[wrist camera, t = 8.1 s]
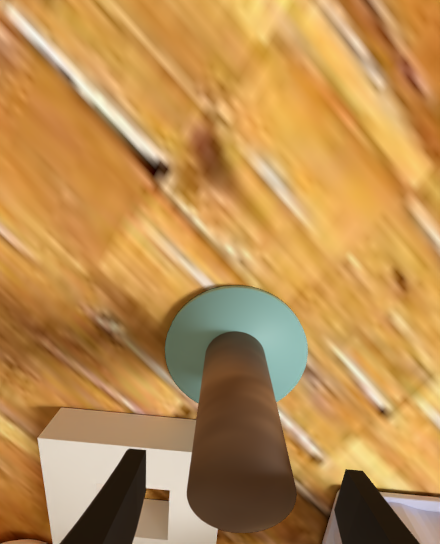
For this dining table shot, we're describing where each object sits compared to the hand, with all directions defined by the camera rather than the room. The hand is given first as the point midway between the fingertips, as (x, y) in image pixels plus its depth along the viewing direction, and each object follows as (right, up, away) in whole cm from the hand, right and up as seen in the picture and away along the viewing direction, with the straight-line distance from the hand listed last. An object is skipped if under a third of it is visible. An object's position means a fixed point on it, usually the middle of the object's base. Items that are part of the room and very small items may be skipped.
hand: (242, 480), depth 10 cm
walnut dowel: (0, +2, +7) cm, 8 cm away
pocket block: (-7, -9, +11) cm, 16 cm away
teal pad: (0, +2, +8) cm, 8 cm away
